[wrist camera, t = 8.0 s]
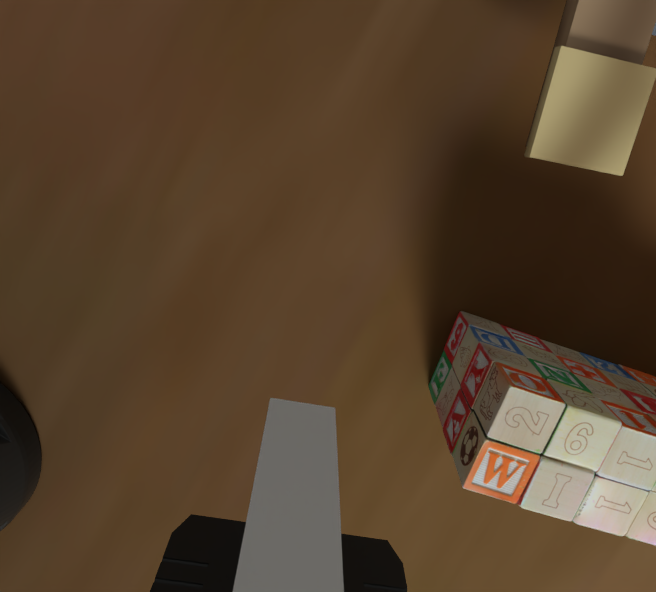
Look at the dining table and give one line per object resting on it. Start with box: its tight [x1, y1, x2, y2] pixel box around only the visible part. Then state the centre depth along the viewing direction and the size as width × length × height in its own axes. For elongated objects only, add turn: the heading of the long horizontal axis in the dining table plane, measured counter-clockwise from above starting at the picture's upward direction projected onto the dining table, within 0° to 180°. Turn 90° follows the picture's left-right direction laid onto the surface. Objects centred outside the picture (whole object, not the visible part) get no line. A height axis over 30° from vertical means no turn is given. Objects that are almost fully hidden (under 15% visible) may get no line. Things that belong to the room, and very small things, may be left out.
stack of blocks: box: [429, 311, 656, 545], centre depth 35 cm, size 21×6×12 cm, turn 72°
